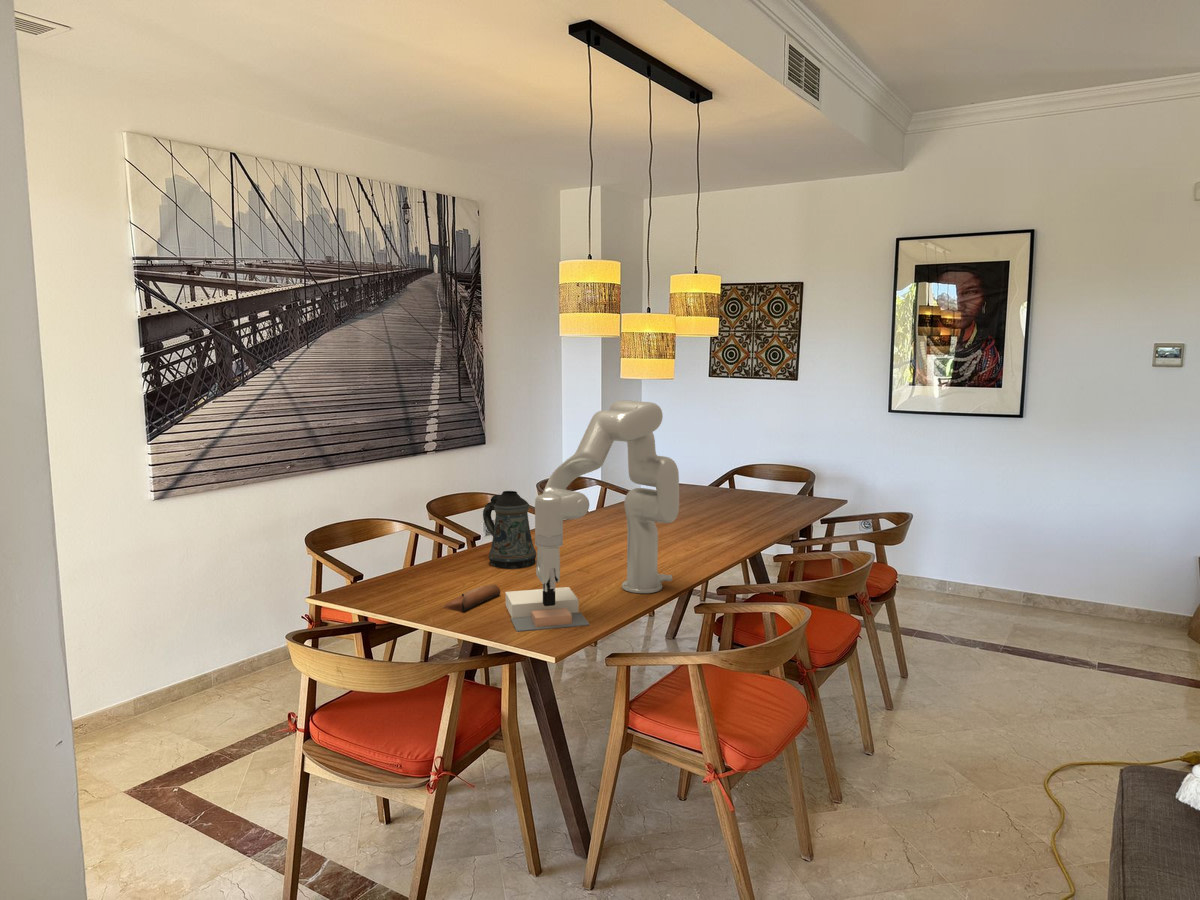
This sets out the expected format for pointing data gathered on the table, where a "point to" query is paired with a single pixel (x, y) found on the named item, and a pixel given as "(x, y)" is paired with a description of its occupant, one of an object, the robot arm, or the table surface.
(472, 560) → the table surface
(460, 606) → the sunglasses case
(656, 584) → the robot arm
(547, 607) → the block
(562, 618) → the tile
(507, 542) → the beer stein
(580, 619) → the mat
